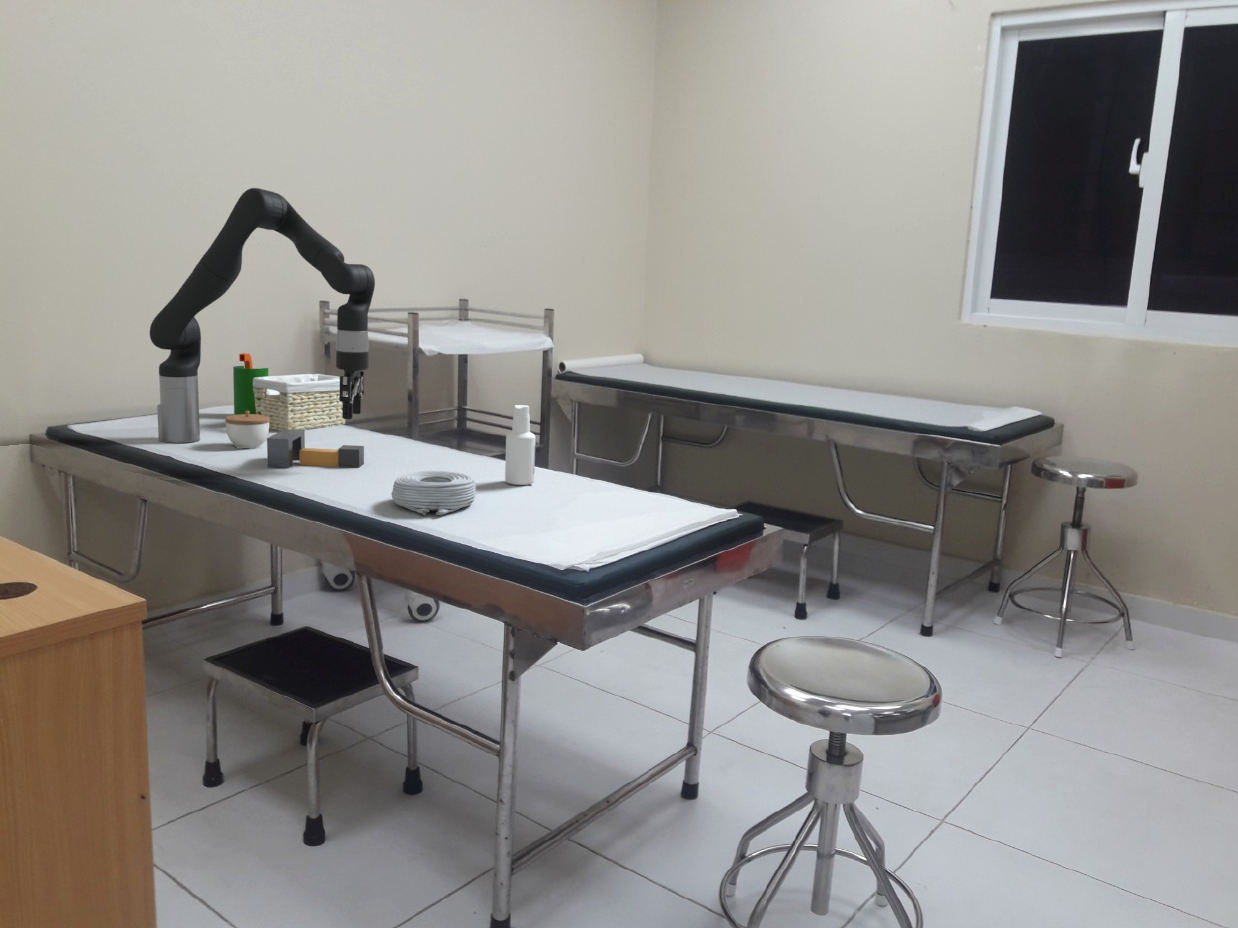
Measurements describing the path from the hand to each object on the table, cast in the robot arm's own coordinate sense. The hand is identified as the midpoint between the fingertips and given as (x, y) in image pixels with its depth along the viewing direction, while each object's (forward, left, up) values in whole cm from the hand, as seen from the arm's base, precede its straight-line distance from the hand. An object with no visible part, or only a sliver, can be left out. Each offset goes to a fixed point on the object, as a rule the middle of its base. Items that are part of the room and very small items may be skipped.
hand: (352, 416), depth 238 cm
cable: (+25, -34, -13) cm, 44 cm away
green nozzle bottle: (-46, +62, -12) cm, 78 cm away
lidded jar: (-31, +18, -12) cm, 38 cm away
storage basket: (-27, +52, -12) cm, 60 cm away
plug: (0, 0, -12) cm, 12 cm away
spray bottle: (+42, -11, -12) cm, 45 cm away
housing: (-16, 0, -12) cm, 20 cm away
